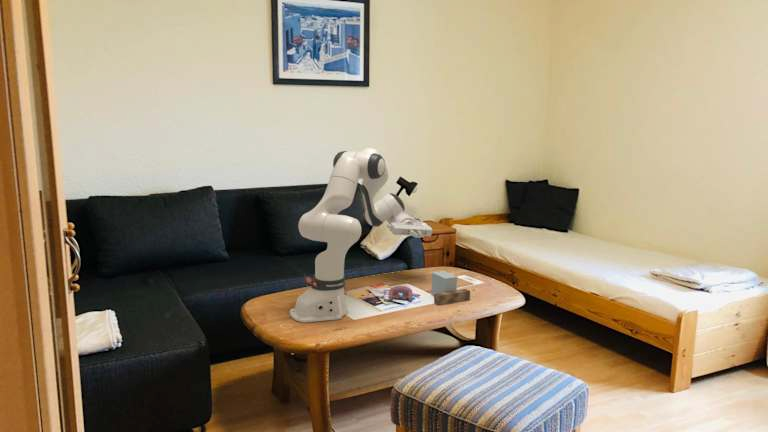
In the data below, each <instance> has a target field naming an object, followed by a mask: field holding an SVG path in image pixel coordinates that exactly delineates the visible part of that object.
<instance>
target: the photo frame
mask: <svg viewBox="0 0 768 432" xmlns="http://www.w3.org/2000/svg"><path fill="white" fill-rule="evenodd" d="M455 276H456V275H455ZM456 277H457V279H458V278H459V279H458V280H461V279H462V281H463V280H464V282H466V281H467V283H469V282H470V283H469V285H465V286H461V287H457V290H458V289H459V290H462V289H467V287H468V288H471V287H472V286H473V287H477V286H481V284H482V285H485V284H486V282H485V281H482V280H479V279H476V278H473V277H471V276H469V275H465V274H462V275H458V276H456ZM471 283H472V284H471ZM476 285H477V286H476Z"/></svg>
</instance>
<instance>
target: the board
mask: <svg viewBox="0 0 768 432" xmlns="http://www.w3.org/2000/svg"><path fill="white" fill-rule="evenodd" d="M433 297H434V298H433V300H434V301H433V303H434V305H437V306H443V305H449V304H455V303H460V302H467V301H470V299H471V290H469V289H467V288H463V289H459V290H456V291H450V292H443V293H437V294H434V296H433Z"/></svg>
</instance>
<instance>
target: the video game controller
mask: <svg viewBox="0 0 768 432" xmlns="http://www.w3.org/2000/svg"><path fill="white" fill-rule="evenodd" d="M401 293H402V295H401V299H402V300H404V299H405V300H407V298H408V302H409V303H411V302H412V301H413V290H412V288H410V287H409V286H406V285H394V286H391V288H390V289H389V292H388V301H389V300H391V301H392V300H393V297H394V299H395V298H396V299H395V300H398V298H399V299H400V294H401Z"/></svg>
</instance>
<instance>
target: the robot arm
mask: <svg viewBox="0 0 768 432" xmlns="http://www.w3.org/2000/svg"><path fill="white" fill-rule="evenodd" d="M385 162H386V161H385V158H383V156H382V155H381V153H379V151H378V150H377V149H375V148H373V147H367V148H364V149H363V150H361V151H357V150H355V151H354V150H353V151H352V150H351V151H347V150H343V151H339V152H337V154H336V155H334V158H333V164H332V166H333V167H332V168H333V169H332V172H331V174H330V177H329V180H328V183H327V185H326V186H327V187H326V189H325V192H324V194H323V196H322V198H321V199H320V201H319V202H318V203H317V204H316V206H315V207H313V208H312V209H310V210H309V211H307V212H305V213H303V214H302V216H301V217H300V218H299V221H298V225H297V226H298V232H299V233H300V235H301V236H302V237H303V238H305V239H308V240H311V241H315V242H322V243H323V242H324V243H327V245H326V246H327V247H326V250H324V251H321V252H320V253H318V254H317V255H316V257H315V259H314V268H315V270H314V271H315V273H314V277H313V278H311V277H309V276H308V277H306V283H308V284H310V286H309V288H308V289H305V291H304V292H302V293H301V294H300V295H299V296H298V297H297V298H296V302H295V307H294V308H291V309H290V310H289V316H290V317H291V318H292V319H293V320H295V321H297V322H300V323H304V324H305V323H313V322H322V321H323V322H325V321H335V320H342V319H343V316H345V315H346V314H348V312H349V311H348V306H347V304H346V303H347V302H346V296H345V295H346V294H345V290H346V277H345V258H346V255H347V252H348V251H349V249H350V248H351V247H352V246H353V245H354V244H355V243H357V242H358V241H359V240H360V238H361V236H362V225H361V223H360V221H359V220H358V218H354V217H352V216H348V215H344V214H339V213H340V212H341V211H343V210H345V209H347V208H349V207H350V206H351V204H353V201H354V198H355V194H356V191H357V187H358V183H359V179H360V180H362V183H361V185H360V188H359V189H360V195H361V201H362V205H363V209H364V212H363V214H364V218H365V220H366V222H367V223H368V224H369V226H371V227H380V226H382V224H384V222H387V224H386V227H388V228H389V231H390V232H391V234H392V235H394V236H410V237H413V238H415V239H416V238H417V239H421V238H422V237H431V236H432V234H433V228H432V227H431V226H430V225H428V223H425V222H424V220H423V219H421V218H415V217H413V216H409V215H408V214H407V213H405V204H404V202H403V200H402V199H401V197H399V196H398V195H397V194H396V193H392V192H391V193H390V192H389V193H388V194H386V195H384V196H383V197H382V198H380V199H378V200H377V201H376V202H375V201H374V198H375V196H376V195H377V193H378V192H380V190H381V189H382V188H383V187H384V186H385V184H386V183H387V181H388V179H389V170H388V167H387V165H386V163H385Z"/></svg>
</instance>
